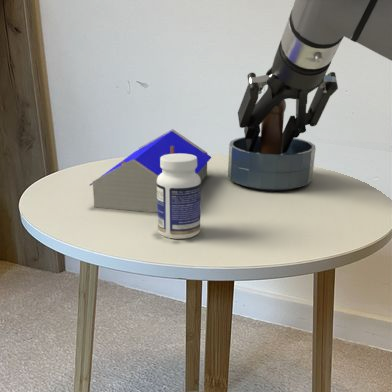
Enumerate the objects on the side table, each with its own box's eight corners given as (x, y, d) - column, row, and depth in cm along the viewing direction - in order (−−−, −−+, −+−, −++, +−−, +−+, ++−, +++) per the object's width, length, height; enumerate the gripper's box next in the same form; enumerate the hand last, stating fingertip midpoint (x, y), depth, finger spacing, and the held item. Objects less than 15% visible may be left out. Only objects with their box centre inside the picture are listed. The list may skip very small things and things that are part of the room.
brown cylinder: (276, 169, 106) (282, 89, 98) (283, 177, 102) (290, 95, 95) (254, 171, 105) (259, 90, 98) (260, 178, 102) (265, 96, 94)
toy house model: (180, 214, 87) (180, 163, 83) (89, 206, 89) (85, 156, 86) (211, 175, 105) (212, 131, 101) (135, 169, 108) (133, 126, 104)
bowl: (296, 168, 110) (299, 134, 107) (323, 191, 98) (327, 153, 95) (220, 171, 108) (221, 136, 105) (238, 194, 96) (240, 156, 93)
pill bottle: (207, 229, 82) (208, 154, 77) (189, 243, 77) (189, 164, 72) (169, 222, 84) (168, 149, 79) (149, 235, 79) (147, 159, 74)
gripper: (244, 73, 79) (215, 167, 101) (376, 72, 82) (320, 164, 104) (237, 24, 81) (210, 127, 103) (366, 26, 83) (313, 125, 106)
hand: (266, 145), depth 103 cm, fingers open, 5 cm apart
